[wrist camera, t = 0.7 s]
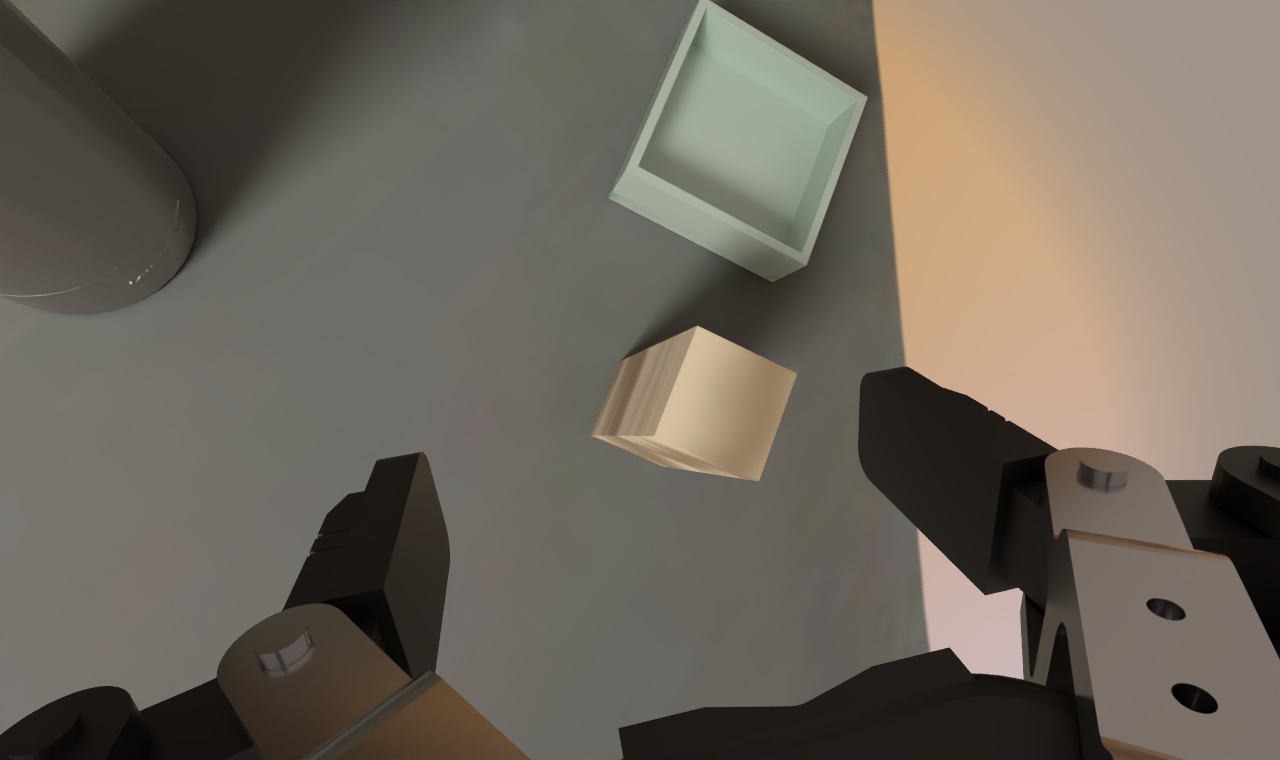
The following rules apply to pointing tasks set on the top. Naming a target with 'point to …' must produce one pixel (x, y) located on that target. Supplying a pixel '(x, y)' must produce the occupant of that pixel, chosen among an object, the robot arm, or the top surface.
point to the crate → (740, 145)
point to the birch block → (697, 405)
